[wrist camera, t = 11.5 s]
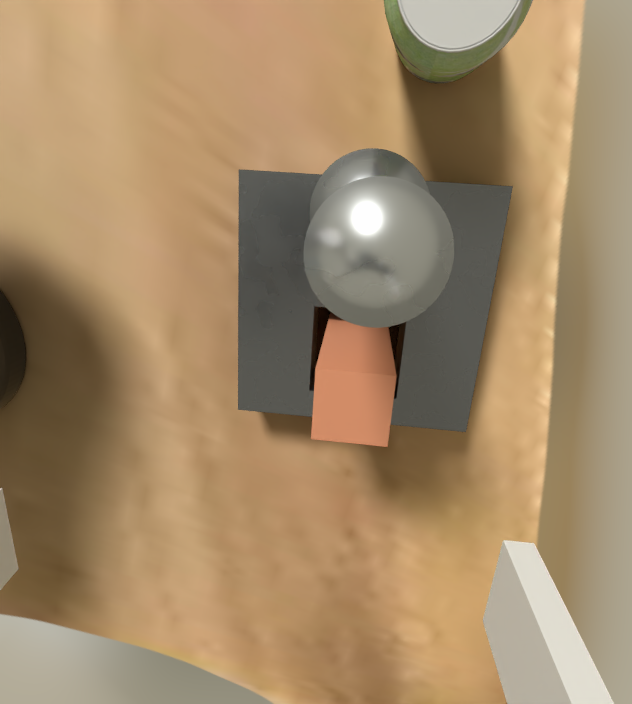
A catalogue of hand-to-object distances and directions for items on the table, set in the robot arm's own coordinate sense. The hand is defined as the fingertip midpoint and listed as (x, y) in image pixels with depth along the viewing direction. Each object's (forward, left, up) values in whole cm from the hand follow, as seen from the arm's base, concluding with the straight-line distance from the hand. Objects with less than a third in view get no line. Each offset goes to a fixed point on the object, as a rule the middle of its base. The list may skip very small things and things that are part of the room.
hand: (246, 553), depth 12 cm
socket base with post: (+3, +2, -24) cm, 24 cm away
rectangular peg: (+3, -1, -24) cm, 24 cm away
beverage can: (+6, +18, -24) cm, 30 cm away
